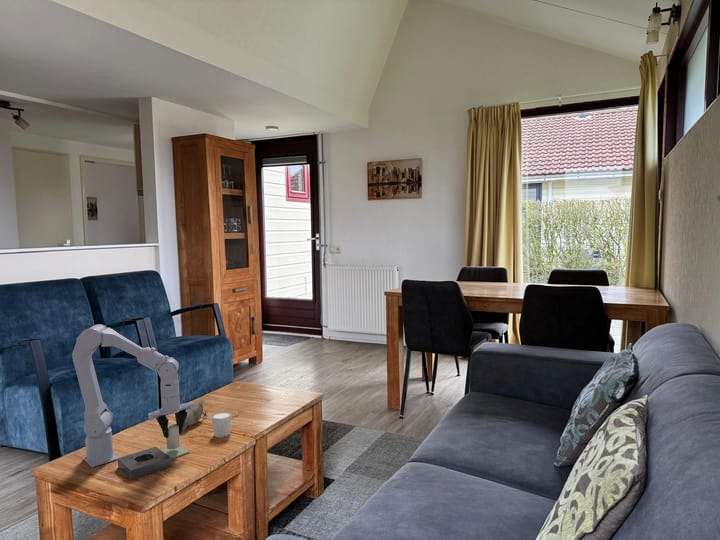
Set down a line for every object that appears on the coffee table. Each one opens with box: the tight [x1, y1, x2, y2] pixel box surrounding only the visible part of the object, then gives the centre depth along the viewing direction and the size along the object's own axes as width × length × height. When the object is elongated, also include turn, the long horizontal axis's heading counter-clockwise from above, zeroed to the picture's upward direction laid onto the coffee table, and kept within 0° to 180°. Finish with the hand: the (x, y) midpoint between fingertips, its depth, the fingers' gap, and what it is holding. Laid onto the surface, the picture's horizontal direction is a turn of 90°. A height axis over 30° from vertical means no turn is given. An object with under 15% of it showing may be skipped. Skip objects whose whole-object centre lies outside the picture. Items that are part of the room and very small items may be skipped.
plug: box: [165, 423, 181, 449], centre depth 168 cm, size 4×4×7 cm
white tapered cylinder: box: [211, 412, 232, 438], centre depth 183 cm, size 7×7×7 cm
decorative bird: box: [182, 398, 208, 433], centre depth 194 cm, size 5×16×7 cm, turn 169°
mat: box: [159, 445, 191, 460], centre depth 168 cm, size 9×7×1 cm
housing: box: [117, 446, 172, 481], centre depth 158 cm, size 12×12×3 cm
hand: (172, 435), depth 168 cm, fingers closed on plug, 4 cm apart
